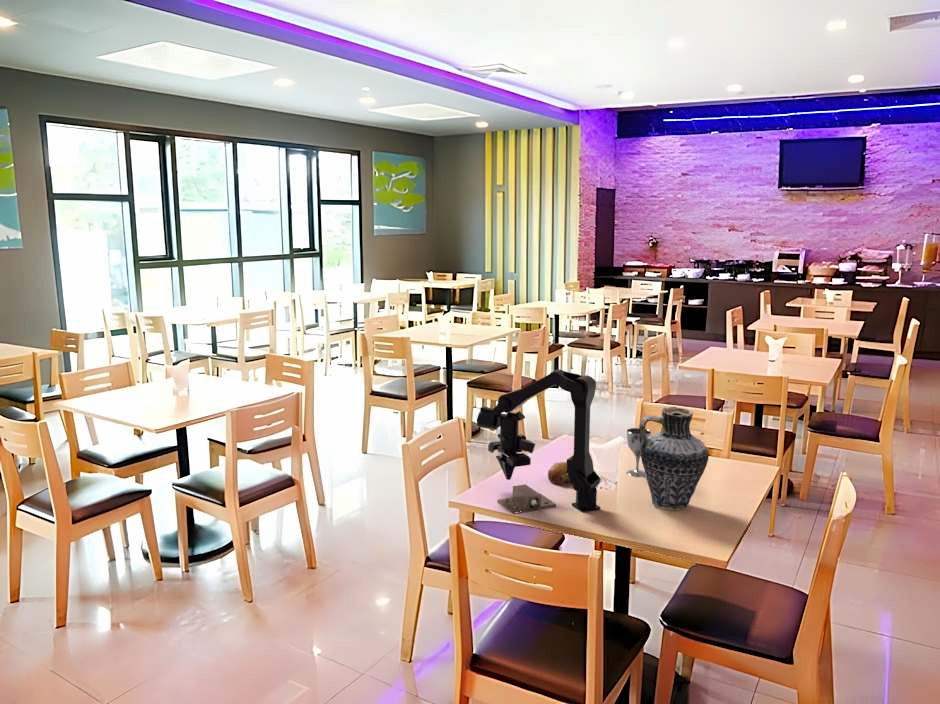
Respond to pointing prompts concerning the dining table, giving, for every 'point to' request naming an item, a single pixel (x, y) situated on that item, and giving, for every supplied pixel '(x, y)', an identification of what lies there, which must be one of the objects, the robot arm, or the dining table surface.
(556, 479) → the bread roll
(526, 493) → the hinge
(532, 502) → the pin
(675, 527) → the dining table surface
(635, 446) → the wine glass
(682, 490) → the jug
